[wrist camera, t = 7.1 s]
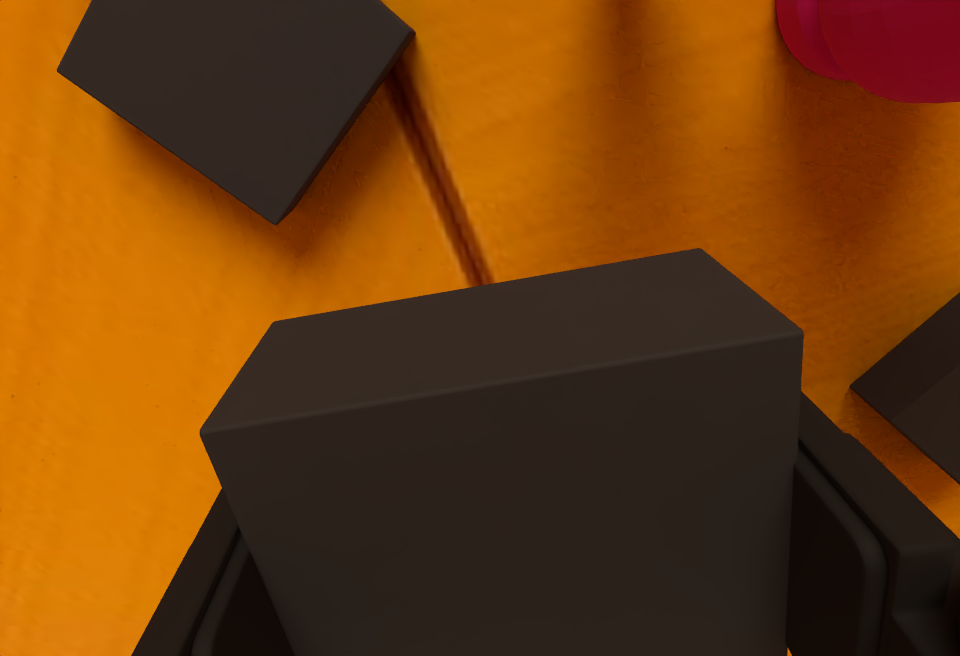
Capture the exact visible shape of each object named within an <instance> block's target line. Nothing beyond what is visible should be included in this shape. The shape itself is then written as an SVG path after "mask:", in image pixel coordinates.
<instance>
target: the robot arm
mask: <svg viewBox="0 0 960 656" xmlns="http://www.w3.org/2000/svg"><path fill="white" fill-rule="evenodd" d="M785 643H786V645H787V647H788V649H789V650H790V652H791V654H792V656H960V539H959V538H958V537H957V536H956V535H955V534H954V533H953V532H952V531H951V530H950V529H949V528H948V527H947V526H946V525H945V524H944V523H943V522H942V521H941V520H940V519H938V518H937V517H936V516H935V515H934V514H933V513H932V512H931V511H930V510H929V509H928V508H927V507H926V506H925V505H924V504H923V503H922V502H921V501H920V500H919V499H918V498H917V497H916V496H915V495H914V494H913V493H912V492H911V491H910V490H909V489H908V488H907V487H906V486H904V485H903V484H902V483H901V482H900V481H899V480H898V479H897V478H896V477H895V476H894V475H893V474H892V473H891V472H890V471H889V470H888V469H887V468H886V467H885V466H884V465H883V464H882V463H881V462H880V461H879V460H878V459H877V458H876V457H875V456H874V455H873V454H871V453H870V452H869V451H868V450H867V449H866V448H865V447H864V446H863V445H862V444H861V443H860V442H859V441H858V440H857V439H856V438H854V437H853V436H851V435H850V434H848V433H844V432H842V431H841V430H840V429H839V428H838V427H837V426H836V425H835V424H834V423H833V422H832V421H831V420H830V419H829V418H828V417H827V416H826V415H825V414H824V413H823V412H822V411H821V410H820V409H819V408H818V407H817V406H816V405H815V404H814V403H813V402H812V401H811V400H810V399H809V398H808V397H807V396H806V395H805V394H804V393H803V392H802V391H801V397H800V416H799V435H798V455H797V463H795V464H794V470H793V490H792V510H791V531H790V551H789V572H788V592H787V613H786V633H785ZM131 656H294V653H293V651H292V649H291V646H290V644H289V642H288V639H287V637H286V635H285V632H284V630H283V628H282V625H281V623H280V621H279V618H278V616H277V614H276V611H275V609H274V607H273V604H272V602H271V600H270V597H269V595H268V593H267V590H266V588H265V586H264V583H263V581H262V578H261V576H260V574H259V571H258V569H257V567H256V564H255V562H254V560H253V557H252V555H251V553H250V550H249V549H248V547H247V545H246V542H245V540H244V538H243V535H242V533H241V531H240V528H239V526H238V524H237V521H236V519H235V517H234V514H233V512H232V509H231V507H230V505H229V502H228V500H227V498H226V495H225V493H224V491H223V488H222V489H221V491H220V493H219V494H218V496H217V498H216V500H215V502H214V504H213V506H212V507H211V509H210V511H209V513H208V515H207V517H206V519H205V521H204V522H203V524H202V526H201V528H200V530H199V532H198V534H197V535H196V537H195V539H194V541H193V543H192V544H191V546H190V547H189V549H188V551H187V553H186V555H185V557H184V558H183V560H182V562H181V564H180V566H179V568H178V570H177V571H176V573H175V575H174V577H173V579H172V581H171V583H170V584H169V586H168V588H167V590H166V592H165V594H164V596H163V597H162V599H161V601H160V603H159V605H158V607H157V609H156V610H155V612H154V614H153V616H152V618H151V620H150V622H149V623H148V625H147V627H146V629H145V631H144V633H143V635H142V637H141V638H140V640H139V642H138V644H137V646H136V648H135V650H134V651H133V653H132V655H131Z"/></svg>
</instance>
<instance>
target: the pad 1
mask: <svg viewBox="0 0 960 656" xmlns="http://www.w3.org/2000/svg"><path fill="white" fill-rule="evenodd" d="M803 339H804V334H803V331H802V329H800V328H799V327H798V326H797V325H796V324H794V323H793V322H792V321H791V320H789V319H788V318H787V317H786V316H784V315H783V314H782V313H781V312H779V311H778V310H777V309H776V308H774V307H773V306H772V305H771V304H769V303H768V302H767V301H766V300H764V299H763V298H762V297H761V296H759V295H758V294H757V293H756V292H754V291H753V290H752V289H751V288H750V287H748V286H747V285H746V284H745V283H743V282H742V281H741V280H740V279H738V278H737V277H736V276H735V275H733V274H732V273H731V272H730V271H728V270H727V269H726V268H725V267H723V266H722V265H721V264H720V263H718V262H717V261H716V260H715V259H713V258H712V257H711V256H710V255H709V254H707V253H706V252H705V251H704V250H702V249H700V248H697V249H691V250H685V251H680V252H674V253H668V254H662V255H656V256H651V257H645V258H639V259H633V260H627V261H622V262H616V263H610V264H604V265H598V266H593V267H587V268H581V269H575V270H569V271H564V272H558V273H552V274H546V275H540V276H535V277H529V278H523V279H517V280H511V281H506V282H500V283H494V284H488V285H482V286H477V287H471V288H465V289H459V290H453V291H448V292H442V293H436V294H430V295H424V296H419V297H413V298H407V299H401V300H395V301H390V302H384V303H378V304H372V305H366V306H361V307H355V308H349V309H343V310H337V311H332V312H326V313H320V314H314V315H308V316H303V317H297V318H291V319H285V320H279V321H275V322H273V323H272V324H271V326H270V327H269V329H268V330H267V332H266V333H265V334H264V336H263V337H262V339H261V340H260V342H259V343H258V345H257V346H256V348H255V349H254V351H253V352H252V354H251V355H250V357H249V358H248V360H247V361H246V362H245V364H244V365H243V367H242V368H241V370H240V371H239V373H238V374H237V376H236V377H235V379H234V380H233V382H232V383H231V385H230V386H229V388H228V389H227V390H226V392H225V393H224V395H223V396H222V398H221V399H220V401H219V402H218V404H217V405H216V407H215V408H214V410H213V411H212V413H211V414H210V416H209V417H208V418H207V420H206V421H205V423H204V424H203V426H202V427H201V429H200V437H201V439H202V442H203V444H204V446H205V449H206V451H207V453H208V456H209V458H210V460H211V463H212V465H213V467H214V470H215V472H216V474H217V477H218V479H219V481H220V484H221V486H222V488H223V491H224V493H225V495H226V498H227V500H228V502H229V505H230V507H231V509H232V512H233V514H234V517H235V519H236V521H237V524H238V526H239V528H240V531H241V533H242V535H243V538H244V540H245V542H246V545H247V547H248V549H249V550H250V553H251V555H252V557H253V560H254V562H255V564H256V567H257V569H258V571H259V574H260V576H261V578H262V581H263V583H264V586H265V588H266V590H267V593H268V595H269V597H270V600H271V602H272V604H273V607H274V609H275V611H276V614H277V616H278V618H279V621H280V623H281V625H282V628H283V630H284V632H285V635H286V637H287V639H288V642H289V644H290V646H291V649H292V651H293V653H294V656H787V648H788V647H787V645H786V643H785V633H786V613H787V592H788V572H789V551H790V531H791V510H792V490H793V470H794V464H795V463H797V455H798V435H799V416H800V397H801V377H802V358H803Z"/></svg>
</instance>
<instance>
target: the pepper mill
mask: <svg viewBox="0 0 960 656" xmlns="http://www.w3.org/2000/svg"><path fill="white" fill-rule="evenodd" d="M776 12H777V19H778V24H779V29H780V32H781V34H782V37H783V39H784V42H785V44H786V45H787V47H788V48H789V50H790V51H791V53H792V55H793V56H794V57H795V58H796V59H797V60H798V61H799V62H800V63H801V64H802V65H803V66H804V67H805V68H806V69H808V70H810V71H812V72H813V73H815V74H817V75H820V76H822V77H826V78H830V79H835V80H844V81H854V82H855V83H857V84H858V85H859V86H861V87H862V88H864V89H865V90H866V91H869V92H871V93H873V94H875V95H878V96H880V97H883V98H887V99H890V100H893V101H898V102H906V103H946V102H960V0H776Z"/></svg>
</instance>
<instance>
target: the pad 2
mask: <svg viewBox="0 0 960 656" xmlns="http://www.w3.org/2000/svg"><path fill="white" fill-rule="evenodd" d="M850 388H851V389H852V390H853V391H854V392H855V393H856V394H857V395H859V396H860V397H861V398H862V399H863V400H864V401H865V402H866V403H868V404H869V405H870V406H871V407H872V408H873V409H874V410H875V411H877V412H878V413H879V414H880V415H881V416H882V417H883V418H884V419H886V420H887V421H888V422H889V423H890V424H891V425H892V426H893V427H895V428H896V429H897V430H898V431H899V432H900V433H901V434H902V435H904V436H905V437H906V438H907V439H908V440H909V441H910V442H911V443H913V444H914V445H915V446H916V447H917V448H918V449H919V450H920V451H922V452H923V453H924V454H925V455H926V456H927V457H928V458H929V459H931V460H932V461H933V462H934V463H935V464H936V465H938V466H939V467H940V468H941V469H942V470H943V471H944V472H946V473H947V474H948V475H949V476H950V477H951V478H953V479H954V480H955V481H956V482H957V483H958V484H959V485H960V293H959V294H958V295H956V296H955V297H954V298H953V299H952V300H950V301H949V302H948V303H947V304H946V305H945V306H943V307H942V308H941V309H940V310H939V311H937V312H936V313H935V314H934V315H933V316H932V317H930V318H929V319H928V320H927V321H926V322H925V323H923V324H922V325H921V326H920V327H919V328H917V329H916V330H915V331H914V332H913V333H912V334H910V335H909V336H908V337H907V338H906V339H904V340H903V341H902V342H901V343H900V344H899V345H897V346H896V347H895V348H894V349H893V350H891V351H890V352H889V353H888V354H887V355H886V356H884V357H883V358H882V359H881V360H880V361H879V362H877V363H876V364H875V365H874V366H873V367H871V368H870V369H869V370H868V371H867V372H866V373H864V374H863V375H862V376H861V377H860V378H858V379H857V380H856V381H855V382H854V383H853V384H851V385H850Z"/></svg>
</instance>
